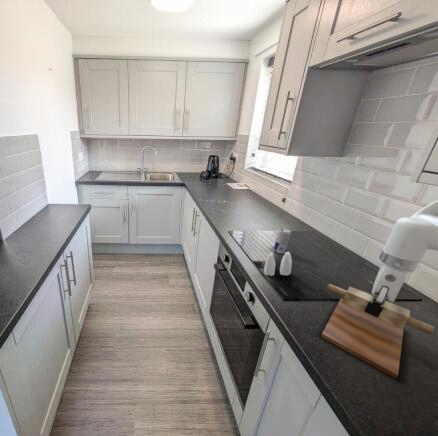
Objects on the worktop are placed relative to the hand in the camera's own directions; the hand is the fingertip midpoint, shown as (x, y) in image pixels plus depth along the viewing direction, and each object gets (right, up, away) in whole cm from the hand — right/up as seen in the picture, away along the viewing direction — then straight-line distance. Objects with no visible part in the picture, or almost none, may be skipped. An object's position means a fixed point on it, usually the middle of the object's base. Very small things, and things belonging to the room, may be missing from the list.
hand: (372, 309), depth 72 cm
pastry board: (-5, -7, -1) cm, 9 cm away
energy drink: (-3, +12, +45) cm, 47 cm away
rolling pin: (0, -1, 0) cm, 1 cm away
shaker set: (-15, +5, +27) cm, 31 cm away
